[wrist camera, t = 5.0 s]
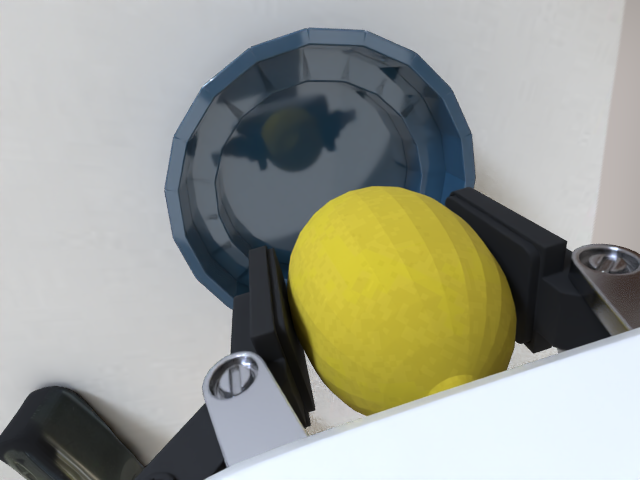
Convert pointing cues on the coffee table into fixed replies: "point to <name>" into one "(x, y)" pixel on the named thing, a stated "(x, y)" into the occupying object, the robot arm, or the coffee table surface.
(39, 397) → the dark piece
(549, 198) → the coffee table surface
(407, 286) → the lemon
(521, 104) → the coffee table surface
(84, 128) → the coffee table surface
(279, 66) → the bowl
